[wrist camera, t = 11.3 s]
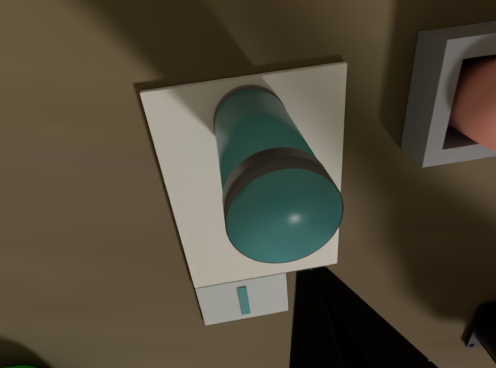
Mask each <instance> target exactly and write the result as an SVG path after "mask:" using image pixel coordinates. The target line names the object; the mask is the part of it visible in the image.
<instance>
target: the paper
mask: <svg viewBox="0 0 496 368" xmlns="http://www.w3.org/2000/svg"><path fill="white" fill-rule="evenodd" d="M346 76H347V63H346V62H345V61H344V62H337V63H330V64H323V65H316V66H309V67H302V68H295V69H288V70H281V71H274V72H267V73H260V74H253V75H246V76H239V77H232V78H225V79H218V80H211V81H204V82H197V83H190V84H183V85H176V86H169V87H162V88H155V89H148V90H141V91H140V96H141V100H142V103H143V107H144V110H145V114H146V117H147V121H148V124H149V128H150V132H151V135H152V139H153V142H154V146H155V149H156V153H157V156H158V160H159V163H160V167H161V170H162V174H163V178H164V181H165V185H166V188H167V192H168V195H169V199H170V202H171V206H172V209H173V213H174V216H175V220H176V224H177V227H178V231H179V234H180V238H181V241H182V245H183V248H184V252H185V255H186V259H187V262H188V266H189V270H190V273H191V277H192V280H193V284H194V287H195V288H198V287H203V286H209V285H215V284H220V283H226V282H232V281H238V280H243V279H249V278H255V277H261V276H266V275H272V274H278V273H283V272H289V271H295V270H301V269H306V268H312V267H318V266H324V265H329V264H335V263H337V253H338V233H339V228H338V229H337V231H336V233H335V234H334V236H333V237H332V238H331V239H330V240H329V241H328V242H327V243H326V244H325V245H324V246H323V247H322V248H320V249H319V250H317V251H316V252H314V253H313V254H311V255H309V256H307V257H304V258H302V259H299V260H296V261H292V262H288V263H277V264H272V263H263V262H258V261H255V260H252V259H250V258H248V257H246V256H244V255H242V254H241V253H240V252H239V251H237V250H236V249H235V248H234V246H233V245H232V244H231V242H230V241H229V238H228V236H227V233H226V230H225V221H224V212H223V203H222V194H223V193H222V184H221V176H220V168H219V160H218V151H217V143H216V136H215V133H214V126H213V116H214V112H215V109H216V106H217V104H218V103H219V101H220V100H221V99H222V97H223V96H224V95H225V94H227V93H228V92H229V91H231V90H232V89H234V88H236V87H239V86H243V85H250V84H252V85H260V86H263V87H266V88H268V89H270V90H271V91H273V92H274V93H275V94H276V95H277V96H278V97H279V98H280V100H281V101H282V103H283V105H284V106H285V109H286V111H287V112H288V114H289V116H290V117H291V119H292V120H293V122H294V123H295V125H296V126H297V128H298V130H299V131H300V133H301V134H302V136H303V137H304V139H305V140H306V142H307V144H308V145H309V147H310V148H311V150H312V151H313V153H314V155H315V156H316V158H317V159H318V160H319V161H320V162H321V164H322V165H323V166H324V167H325V169H326V171H327V172H328V174H329V175H330V177H331V178H332V180H333V181H334V183H335V184H336V186H337V188H338V189H339V191H340V193H341V174H342V155H343V135H344V115H345V96H346Z"/></svg>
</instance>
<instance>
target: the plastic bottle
mask: <svg viewBox="0 0 496 368" xmlns="http://www.w3.org/2000/svg"><path fill="white" fill-rule="evenodd" d="M4 368H36V367H32V366H28V365H21V366H12V367H4Z"/></svg>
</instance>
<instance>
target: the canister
mask: <svg viewBox="0 0 496 368" xmlns="http://www.w3.org/2000/svg"><path fill="white" fill-rule="evenodd" d="M213 126H214V133H215V136H216V143H217V151H218V160H219V168H220V176H221V184H222V193H223V194H222V203H223V212H224V221H225V230H226V233H227V236H228V238H229V241H230V242H231V244H232V245H233V246H234V248H235V249H236V250H237V251H239V252H240V253H241V254H242V255H244V256H246V257H248V258H250V259H252V260H255V261H258V262H263V263H272V264H277V263H288V262H292V261H296V260H299V259H302V258H304V257H307V256H309V255H311V254H313V253H314V252H316V251H317V250H319V249H320V248H322V247H323V246H324V245H325V244H326V243H327V242H328V241H329V240H330V239H331V238H332V237H333V236H334V234H335V233H336V231H337V229H338V228H339V225H340V223H341V220H342V217H343V210H344V207H343V199H342V196H341V193H340V191H339V189H338V188H337V186H336V184H335V183H334V181H333V180H332V178H331V177H330V175H329V174H328V172H327V171H326V169H325V167H324V166H323V165H322V164H321V162H320V161H319V160H318V159H317V158H316V156H315V155H314V153H313V151H312V150H311V148H310V147H309V145H308V144H307V142H306V140H305V139H304V137H303V136H302V134H301V133H300V131H299V130H298V128H297V126H296V125H295V123H294V122H293V120H292V119H291V117H290V116H289V114H288V112H287V111H286V109H285V106H284V105H283V103H282V101H281V100H280V98H279V97H278V96H277V95H276V94H275V93H274V92H273V91H271V90H270V89H268V88H266V87H263V86H260V85H252V84H250V85H243V86H239V87H236V88H234V89H232V90H231V91H229V92H228V93H227V94H225V95H224V96H223V97H222V99H221V100H220V101H219V103H218V104H217V106H216V109H215V112H214V116H213Z"/></svg>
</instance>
